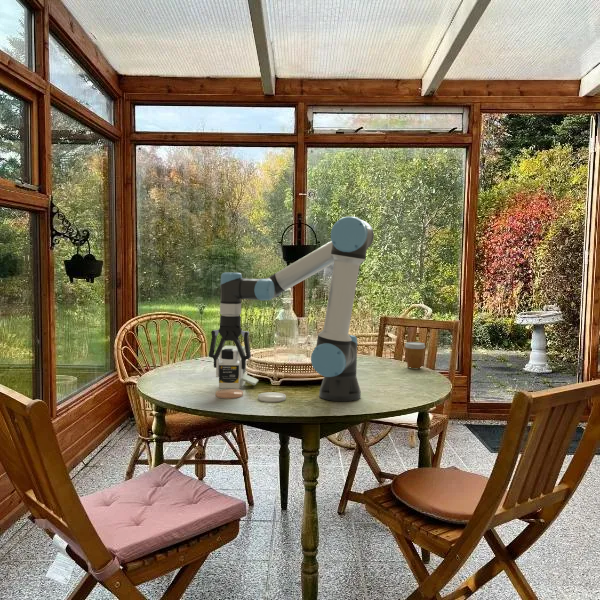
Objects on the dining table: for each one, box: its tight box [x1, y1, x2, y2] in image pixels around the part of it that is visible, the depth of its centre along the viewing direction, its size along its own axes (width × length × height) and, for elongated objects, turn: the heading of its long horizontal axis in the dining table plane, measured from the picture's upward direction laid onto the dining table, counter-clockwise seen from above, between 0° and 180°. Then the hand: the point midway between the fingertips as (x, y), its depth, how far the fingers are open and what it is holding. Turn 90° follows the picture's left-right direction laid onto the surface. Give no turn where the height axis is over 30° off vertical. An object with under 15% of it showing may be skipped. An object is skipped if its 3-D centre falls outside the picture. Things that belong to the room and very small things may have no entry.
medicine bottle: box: [218, 349, 239, 385], centre depth 202 cm, size 7×7×12 cm
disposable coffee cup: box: [404, 341, 426, 368], centre depth 264 cm, size 10×10×12 cm
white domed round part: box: [257, 391, 287, 403], centre depth 199 cm, size 10×10×1 cm
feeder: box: [218, 345, 259, 390], centre depth 218 cm, size 14×10×15 cm
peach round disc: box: [215, 388, 244, 400], centre depth 203 cm, size 10×10×1 cm
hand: (229, 377), depth 202 cm, fingers closed on medicine bottle, 8 cm apart
